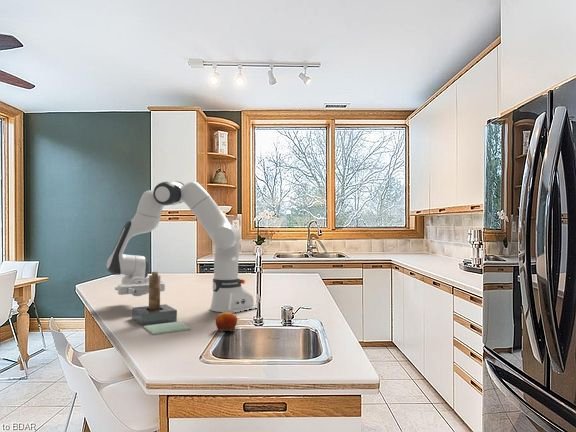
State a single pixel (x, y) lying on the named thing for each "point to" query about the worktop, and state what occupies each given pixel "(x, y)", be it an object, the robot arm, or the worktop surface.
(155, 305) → the bottle
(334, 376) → the worktop surface
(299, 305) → the worktop surface
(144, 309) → the housing
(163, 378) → the worktop surface
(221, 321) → the fruit
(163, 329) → the mat
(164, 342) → the worktop surface
